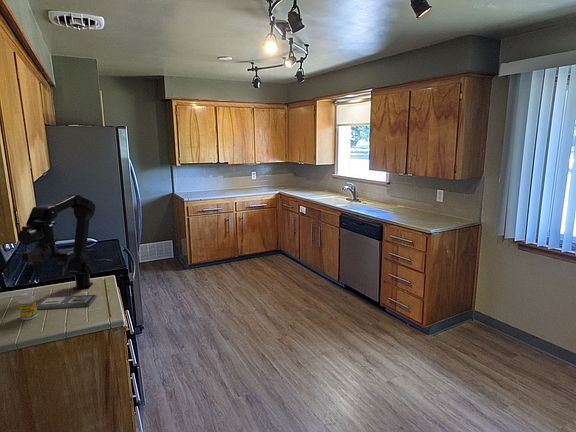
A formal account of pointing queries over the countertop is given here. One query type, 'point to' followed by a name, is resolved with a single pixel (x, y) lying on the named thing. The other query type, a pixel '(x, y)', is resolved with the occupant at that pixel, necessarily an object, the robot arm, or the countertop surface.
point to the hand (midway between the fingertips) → (50, 275)
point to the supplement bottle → (27, 305)
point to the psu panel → (66, 302)
